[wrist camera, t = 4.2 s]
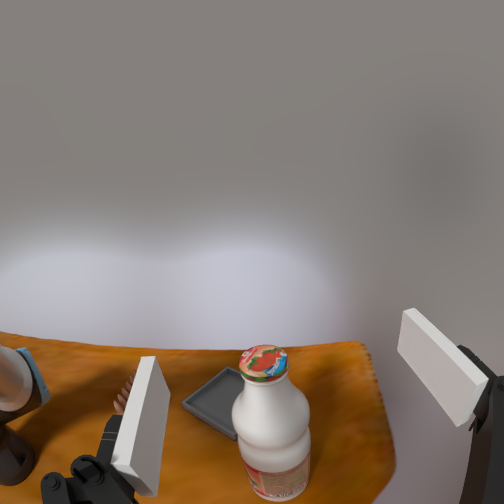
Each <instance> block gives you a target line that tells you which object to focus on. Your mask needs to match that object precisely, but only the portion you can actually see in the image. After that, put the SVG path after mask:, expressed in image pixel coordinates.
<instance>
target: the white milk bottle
mask: <svg viewBox="0 0 504 504" xmlns="http://www.w3.org/2000/svg"><path fill="white" fill-rule="evenodd" d="M239 369H240V373H241V375H242V377H243V379H244V380H245V385H244V389H243V391H242V392H241V393H240V394H239V395H238V397H237V398H236V400H235V402H234V404H233V407H232V422H233V426H234V429H235V431H236V432H237V434H238V445H239V450H240V454H241V456H242V459H243V462H244V466H245V469H246V472H247V475H248V478H249V481H250V484H251V486H252V488H253V490H254V491H255V492H256V493H257V494H258V495H259V496H260V497H262V498H264V499H266V500H269V501H274V502H282V501H288V500H291V499H293V498H295V497H297V496H298V495H299V494H301V493H302V492H303V491H304V489H305V488H306V486H307V484H308V481H309V471H310V446H311V437H310V430H309V427H308V423H309V419H310V408H309V404H308V401H307V399H306V397H305V395H304V394H303V393H302V392H301V391H300V390H299V389H298V388H297V387H295V386H294V385H293V384H292V383H291V381H290V379H289V377H288V376H287V373H288V370H289V361H288V357H287V354H286V352H285V351H284V350H283V349H281V348H279V347H277V346H274V345H259V346H255V347H252V348H250V349H248V350H247V351H245V352H244V353H243V354H242V356H241V357H240V361H239Z"/></svg>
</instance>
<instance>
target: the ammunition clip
mask: <svg viewBox="0 0 504 504" xmlns="http://www.w3.org/2000/svg"><path fill="white" fill-rule="evenodd" d="M136 373H137V372H136V371H135V370H133V375H134V378H133V377H132V376H129V379H130V383H131V385H130V384H129V383H128V382H127V381H126V388H127V391H128V392H127V391H126V390H125V389H124V388H123V387H122V393H123V396H124V398H125V400H126V401H125V400H124V398H123V397H122V396H121V395H120V394H118V400H119V402H120V404H121V406H120V405H119V404H118V403H117V402H116V401H115V400H114V406H115V409H116V411H117V413H118V415H124V412H125V408H126V405H127V402H128V398H129V395H130V392H131V389H132V385H133V382H134V379H135V376H136ZM121 407H122V408H123V409H122V408H121Z"/></svg>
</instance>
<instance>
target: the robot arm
mask: <svg viewBox="0 0 504 504" xmlns="http://www.w3.org/2000/svg"><path fill="white" fill-rule="evenodd" d="M397 351H398V352H399V353H400V355H401V356H402V357H403V358H404V360H405V361H406V362H407V363H408V364H409V366H410V367H411V368H412V369H413V371H414V372H415V373H416V374H417V376H418V377H419V378H420V380H421V381H422V382H423V383H424V385H425V386H426V387H427V388H428V390H429V391H430V392H431V394H432V395H433V396H434V397H435V399H436V400H437V401H438V403H439V404H440V405H441V406H442V408H443V409H444V411H445V412H446V413H447V415H448V416H449V417H450V419H451V420H452V421H453V423H454V424H455V425H456V427H458V426H460V425H461V424H463V423H465V422H467V421H468V420H469V419H470V416H471V415H472V413H474V414H475V415H476V417H475V419H474V421H473V423H472V424H471V426H470V428H469V431H471V429H472V428H473V436H472V444H471V451H470V457H469V463H468V468H467V473H466V478H465V483H464V487H463V492H462V495H461V499H460V503H459V504H504V376H499V377H498V376H496V375H495V374H494V373H493V372H492V371H491V370H490V369H489V368H488V367H487V366H486V365H485V364H484V363H483V362H482V361H480V359H479V358H478V357H477V356H475V355H474V353H472V352H471V351H470V350H469V349H468V348H466V347H464V346H461V345H459V346H457V347H456V346H455V345H454V344H453V343H452V342H451V341H450V340H449V339H448V338H446V336H444V335H443V334H442V333H441V332H440V331H439V330H438V329H437V328H436V327H435V326H434V325H433V324H431V323H430V322H429V321H428V320H427V319H426V318H425V317H424V316H423V315H422V314H420V313H419V312H418V311H417V310H416V309H415V308H412V309H408V310H405V311H403V316H402V323H401V330H400V337H399V343H398V349H397ZM170 395H171V394H170V391H169V389H168V386H167V384H166V382H165V379H164V377H163V374H162V372H161V369H160V366H159V364H158V361H157V359H156V356H149V357H141V361H140V364H139V367H138V370H137V373H136V376H135V379H134V382H133V385H132V389H131V392H130V395H129V398H128V402H127V405H126V408H125V412H124V415H113V416H112V417H111V418H110V419H109V420H108V422H107V423H106V426H105V429H104V433H103V436H102V440H101V442H100V445H99V449H98V452H97V455H96V457H94V456H92V455H82V456H79V457H77V458H76V459H75V460H74V461H73V463H72V464H71V468H70V470H71V474H72V475H73V476H74V477H71V478H64V477H63V476H62V475H61V474H60V473H57V472H51V473H48V474H46V475H45V476H44V477H43V479H42V481H41V493H42V500H43V504H139V503H138V501H137V500H136V499H135V498H134V492H135V491H136V492H137V493H138V494H139V495H140V496H153V497H157V494H158V484H159V475H160V466H161V458H162V450H163V442H164V435H165V428H166V421H167V414H168V407H169V401H170ZM50 397H51V396H50V393H49V390H48V388H47V386H46V385H45V382H44V380H43V378H42V376H41V374H40V372H39V369H38V367H37V365H36V363H35V361H34V359H33V357H32V355H31V353H30V352H29V350H28V349H27V348H26V347H23V348H17V349H16V350H15V351H14V350H13V349H10V348H8V347H2V346H1V345H0V484H1V485H5V486H12V485H16V484H18V483H20V482H21V481H23V480H24V479H25V478H26V477H27V476H28V475H29V473H30V472H31V470H32V467H33V464H34V451H33V448H32V446H31V445H30V443H29V442H28V441H27V440H26V439H25V438H24V437H23V436H22V435H21V434H19V433H18V432H16V431H15V430H13V429H12V428H10V427H9V426H7V425H6V423H8V422H10V421H12V420H15V419H17V418H19V417H21V416H23V415H25V414H27V413H29V412H31V411H33V410H35V409H37V408H39V407H42V406H43V405H44V404H45V403H47V402H48V401H49V400H50ZM473 426H474V427H473Z"/></svg>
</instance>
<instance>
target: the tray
mask: <svg viewBox="0 0 504 504" xmlns="http://www.w3.org/2000/svg"><path fill="white" fill-rule="evenodd" d="M244 385H245V380H244V379H243V377H242V375H241V373H240V371H237V370H235V369H233V368H231V367H229V366H227V367H226V368H224V369H223V370H222V371H221V372H219V373H218V374H217V375H216V376H214V377H213V378H212V379H211V380H209V381H208V382H207V383H205V384H204V385H203V386H202V387H200V388H199V389H198V390H196V391H195V392H194V393H193V394H191V395H190V396H189V397H187V398H186V399H185V400H183V401H182V402H181V404H182V406H183V408H184V409H185V410H187V411H188V412H190V413H191V414H193V415H194V416H196V417H197V418H199V419H200V420H202V421H203V422H205V423H206V424H208V425H209V426H211V427H213V428H214V429H216V430H218V431H219V432H221V433H222V434H224V435H226V436H228V437H229V438H231V439H233V440H234V441H236V440H238V434H237V432H236V431H235V429H234V426H233V422H232V407H233V404H234V402H235V400H236V398H237V397H238V395H239V394H240V393H241V392H242V391H243V389H244Z"/></svg>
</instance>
